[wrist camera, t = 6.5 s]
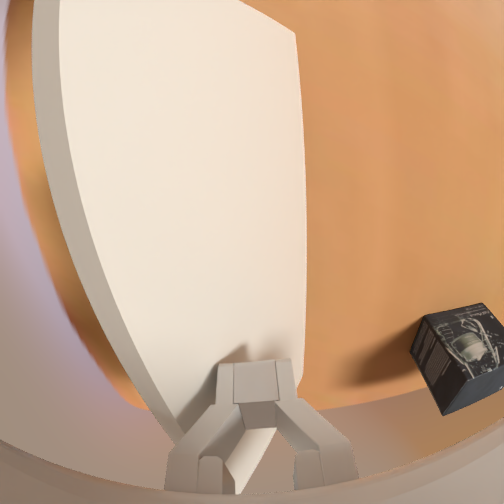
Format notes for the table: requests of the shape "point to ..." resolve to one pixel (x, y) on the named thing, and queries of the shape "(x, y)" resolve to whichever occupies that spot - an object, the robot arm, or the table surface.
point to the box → (460, 356)
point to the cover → (179, 189)
